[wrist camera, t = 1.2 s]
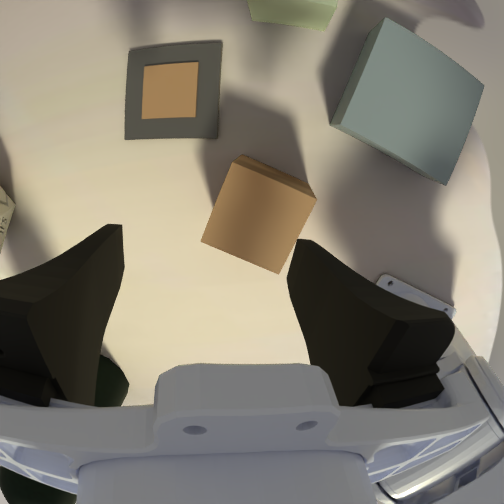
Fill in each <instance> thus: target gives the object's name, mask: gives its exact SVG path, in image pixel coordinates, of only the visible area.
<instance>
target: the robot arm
mask: <svg viewBox="0 0 504 504" xmlns="http://www.w3.org/2000/svg"><path fill="white" fill-rule="evenodd" d="M124 268H125V266H124V252H123V233H122V225H118V224H107V225H105V226H103V227H102V228H100V229H99V230H97V231H96V232H94V233H93V234H91V235H90V236H89V237H87V238H86V239H84V240H83V241H81V242H80V243H78V244H77V245H75V246H74V247H72V248H70V249H69V250H67V251H66V252H64V253H63V254H61V255H59V256H57V257H56V258H54V259H52V260H50V261H48V262H46V263H44V264H42V265H40V266H37V267H35V268H33V269H30V270H28V271H26V272H23V273H21V274H18V275H15V276H12V277H9V278H6V279H2V280H0V465H1V466H3V467H5V468H7V469H10V470H12V471H14V472H16V473H19V474H21V475H23V476H26V477H28V478H30V479H33V480H35V481H38V482H41V483H43V484H46V485H49V486H52V487H54V488H57V489H60V490H63V491H66V492H70V493H73V494H76V495H77V501H76V504H378V502H377V500H379V501H381V502H382V503H384V504H504V386H503V384H502V383H501V381H500V380H499V378H498V377H497V375H496V374H495V372H494V371H493V369H492V368H491V367H490V365H489V364H488V363H487V361H486V360H485V359H484V358H483V357H482V356H476V354H475V353H474V351H473V350H472V348H471V347H470V345H469V344H468V342H467V341H466V340H465V338H464V337H463V335H462V334H461V332H460V331H459V330H458V328H457V327H456V325H455V324H454V323H453V321H452V318H453V317H454V316H455V314H456V309H455V308H454V307H452V306H450V305H449V304H447V303H445V302H443V301H441V300H439V299H437V298H435V297H433V296H431V295H429V294H427V293H425V292H423V291H421V290H419V289H417V288H415V287H413V286H411V285H409V284H407V283H404V282H402V281H400V280H398V279H396V278H394V277H392V276H390V275H388V274H383V275H382V276H381V277H380V278H379V280H378V281H377V283H376V284H374V283H372V282H370V281H369V280H367V279H365V278H364V277H362V276H361V275H359V274H358V273H356V272H355V271H353V270H352V269H351V268H349V267H348V266H346V265H345V264H344V263H342V262H341V261H340V260H338V259H337V258H336V257H334V256H333V255H332V254H330V253H329V252H328V251H327V250H325V249H324V248H323V247H321V246H320V245H318V244H317V243H315V242H314V241H312V240H306V239H297V242H296V246H295V249H294V253H293V257H292V260H291V264H290V268H289V271H288V275H287V284H288V289H289V294H290V299H291V302H292V305H293V307H294V310H295V313H296V316H297V319H298V322H299V324H300V327H301V330H302V333H303V336H304V339H305V342H306V345H307V350H308V354H309V359H310V364H311V365H307V364H300V363H293V364H210V363H196V364H187V365H178V366H176V367H174V368H172V369H170V370H168V371H166V372H164V373H163V374H161V375H159V378H158V381H157V383H156V386H155V395H154V404H149V405H137V406H121V407H94V402H95V389H96V379H97V371H98V364H99V357H100V352H101V346H102V341H103V336H104V333H105V329H106V326H107V323H108V320H109V317H110V314H111V311H112V309H113V306H114V303H115V300H116V297H117V295H118V292H119V289H120V286H121V281H122V277H123V272H124ZM389 281H392V283H391V284H388V282H389ZM445 308H446V309H445ZM444 309H445V310H444Z"/></svg>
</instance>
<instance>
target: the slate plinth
mask: <svg viewBox="0 0 504 504" xmlns="http://www.w3.org/2000/svg"><path fill="white" fill-rule="evenodd" d="M483 89H484V85H483V84H482V83H481V82H480V81H478V80H477V79H476V78H475V77H474V76H473V75H471V74H470V73H469V72H468V71H466V70H465V69H464V68H463V67H461V66H460V65H459V64H457V63H456V62H455V61H453V60H452V59H451V58H449V57H448V56H447V55H445V54H444V53H443V52H441V51H440V50H438V49H437V48H435V47H434V46H433V45H431V44H430V43H428V42H426V41H425V40H423V39H422V38H420V37H419V36H417V35H416V34H414V33H412V32H411V31H409V30H408V29H406V28H404V27H402V26H401V25H399V24H397V23H396V22H394V21H392V20H390V19H388V18H387V17H385V18H384V19H383V20H382V21H381V22H380V23H379V24H378V25H377V26H376V27H374V28H373V29H372V30H371V31H370V32H369V34H368V37H367V39H366V42H365V44H364V46H363V49H362V51H361V53H360V56H359V58H358V61H357V63H356V65H355V68H354V70H353V72H352V75H351V77H350V79H349V82H348V84H347V86H346V89H345V91H344V93H343V96H342V98H341V100H340V102H339V105H338V107H337V109H336V112H335V114H334V116H333V119H332V121H331V123H330V126H332V127H334V128H336V129H339V130H341V131H343V132H345V133H347V134H349V135H351V136H353V137H355V138H357V139H359V140H360V141H362V142H364V143H366V144H368V145H370V146H372V147H374V148H376V149H377V150H379V151H381V152H383V153H385V154H386V155H388V156H390V157H392V158H393V159H395V160H397V161H399V162H400V163H402V164H404V165H405V166H407V167H409V168H410V169H412V170H414V171H415V172H417V173H419V174H420V175H422V176H424V177H426V178H429V179H431V180H434V181H436V182H438V183H441V184H443V185H445V186H446V185H447V183H448V181H449V179H450V176H451V174H452V172H453V170H454V167H455V165H456V163H457V160H458V158H459V155H460V153H461V151H462V148H463V146H464V143H465V141H466V138H467V135H468V133H469V130H470V127H471V125H472V122H473V119H474V116H475V113H476V110H477V107H478V104H479V101H480V98H481V95H482V92H483Z"/></svg>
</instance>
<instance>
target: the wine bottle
mask: <svg viewBox="0 0 504 504" xmlns="http://www.w3.org/2000/svg"><path fill="white" fill-rule="evenodd" d="M128 387H129V383H128V381H127V379H126V377H125V375H124V373H123V371H122V370H121V369H119V368H118V367H117V366H116V365H115V364H114V363H113V362H112V361H111V360H110V359H108V358H106V357H104V356H102V355H100V357H99V364H98V371H97V379H96V389H95V402H94V407H121V405H122V403H123V401H124V399H125V397H126V395H127V393H128ZM0 488H1V490H2V493H3V494H4V497H5V498H6V500H7V502H8V503H9V504H75V503H76V501H77V495H76V494H73V493H70V492H66V491H63V490H60V489H57V488H54V487H52V486H49V485H46V484H43V483H41V482H38V481H35V480H33V479H30V478H28V477H26V476H23V475H21V474H19V473H16V472H14V471H12V470H10V469H7V468H5V467H3V466H0Z"/></svg>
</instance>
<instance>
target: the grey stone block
mask: <svg viewBox="0 0 504 504" xmlns="http://www.w3.org/2000/svg"><path fill="white" fill-rule="evenodd" d="M14 208H15V204H14V202H13V201H12V200H11V199H10V198H9V196H8V195H7V194H6V193H5V191H4V190H3V189H2V188H1V186H0V253H1V250H2V246H3V242H4V239H5V236H6V232H7V229H8V226H9V223H10V220H11V217H12V214H13V211H14Z"/></svg>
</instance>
